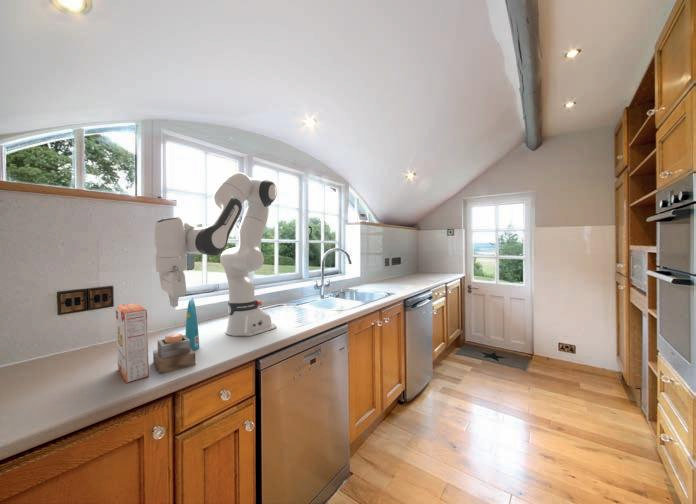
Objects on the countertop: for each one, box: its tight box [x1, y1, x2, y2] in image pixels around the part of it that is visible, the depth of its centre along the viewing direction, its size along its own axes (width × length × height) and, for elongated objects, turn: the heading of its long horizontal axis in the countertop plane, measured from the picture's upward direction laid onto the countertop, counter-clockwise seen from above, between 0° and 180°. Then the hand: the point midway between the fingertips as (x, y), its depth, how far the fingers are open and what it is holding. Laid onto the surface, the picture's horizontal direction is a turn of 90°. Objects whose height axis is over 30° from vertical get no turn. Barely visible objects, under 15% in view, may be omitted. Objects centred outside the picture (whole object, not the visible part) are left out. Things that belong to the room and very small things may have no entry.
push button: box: [164, 333, 183, 344], centre depth 93 cm, size 5×5×5 cm
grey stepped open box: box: [152, 334, 196, 375], centre depth 93 cm, size 10×12×8 cm
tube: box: [184, 297, 200, 351], centre depth 106 cm, size 7×5×19 cm, turn 25°
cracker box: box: [115, 303, 150, 384], centre depth 86 cm, size 14×6×21 cm, turn 47°
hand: (174, 306), depth 93 cm, fingers closed
